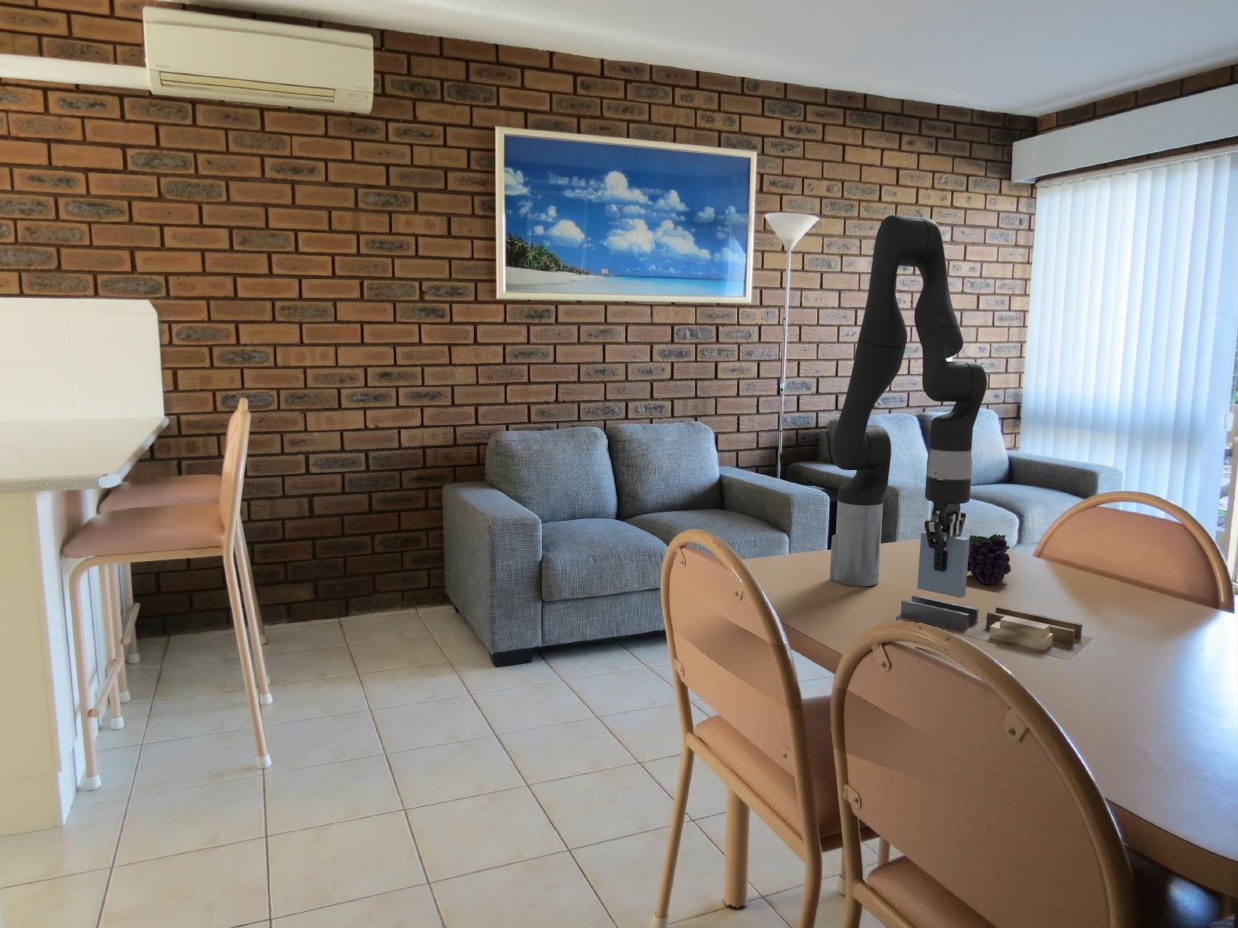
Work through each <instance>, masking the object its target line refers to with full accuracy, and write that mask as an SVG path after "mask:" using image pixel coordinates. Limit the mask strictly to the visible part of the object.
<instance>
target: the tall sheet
mask: <svg viewBox="0 0 1238 928" xmlns="http://www.w3.org/2000/svg"><path fill="white" fill-rule="evenodd" d="M969 541H970V537H963V536H961V537H959V536H952V538H950V539H949V549H948V557H947V570H946V571H944V572H942V571H936V570H934V552H935V550H934V549H933V548H929V545H928V540H927V535H926V530H924V531H921V533H920V542H919V543H920V544H919V545H920V546H919V558H918V570H917V571H918V574H917V585H916V586H917V588H916V589H917V590H922V591H928V592H931V593H935V594H941V595H945V596H946V595H947V596H950V597H954V598H959V599H962V598H964V597H965V596H966V591H967V589H966V588H967V576H968V571H967V566H968V555H969V554H968V553H969Z"/></svg>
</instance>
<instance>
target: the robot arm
mask: <svg viewBox="0 0 1238 928" xmlns="http://www.w3.org/2000/svg"><path fill="white" fill-rule="evenodd" d="M874 241H875V242H874V247H873V253H872V261H871V269H870V270H871V271H870V276H869V286H868V293H867V298H866V304H865V307H864V313H863V318H862V321H861V327H860V330H859V334H858V335H859V336H858V338H857V339H858V340H857V342H856V343H857V344H856V346H855V347H856V348H855V353H854V360H853V364H852V370H851V375H850V378H849V382H848V387H847V391H846V395H845V397H844V398H845V399H844V402H843V405H842V409H841V411H840V415H839V418H838V421H837V424H836V426H835V429H834V430H835V431H834V433H833V437H832V444H831V455H832V460H833V462H834V464H835V465H836V467H837V468H838V469H841V470H843V471H856V472H855V474H854V476H853V477H852V478H851V479H850V480H849V481H847V482H846V483H843V484H842V485H841V486H840V487H839V488H838V490H837V506H836V507H837V509H836V525H835V526H836V528H835V533H834V534H833V535H832V536H831V543H830V544H831V545H830V547H831V549H830V566H829V567H830V568H829V579H830V580H834V581H835V582H837V583H839V584H842V585H847V586H853V587H872V586H876V585H878V583H879V582H880V581H879V580H880V579H879V577H880V563H881V561H880V560H881V547H882V546H881V545H882V544H881V543H882V542H881V541H882V530H883V529H882V526H883V509H884V498H885V497H884V496H885V494H886V492H887V490H888V484H889V477H890V476H889V475H890V466H891V459H892V443H891V438H890V437H891V436H890V435H889V433H888V431H887V430H886V429H885V428H884V427H883V426H880V425H877V424H868V422H869V419H870V416H871V413H872V411H873V409H874V407H875V405H876V403H878V400H879V399H880V398H881V397H882V395H883V394H884V393H885V392H886V391H887V389H888V388H889V386H890V385H891V384H892V382H893V381H894V380H895V378H896V376H897V375H898V374H899V371H900V370H901V368H902V363H903V360H904V355H905V350H906V346H907V341H908V330H907V326H906V322H905V320H904V318H903V314H902V311H901V309H900V306H899V304H898V303H899V302H898V299H897V296H896V283H897V274H898V269H899V267H900V266H901V267H910V268H917V270H918V272H919V274H920V276H921V279H922V289H921V291H920V294H919V297H918V299H917V302H916V305H915V308H914V315H913V316H914V317H913V319H914V320H913V321H914V326H915V329H916V333H917V336H918V340H919V342H920V343H919V344H920V346H921V350H922V352H921V353H922V376H921V379H922V381H921V382H922V389H923V392H924V394H925V395H926V396H927V397H928V398H929V399H930V400H932V401H934V402H937V403H939V402H940V403H941V402H942V403H944V402H945V403H948V402H951V403H952V402H953V403H954V405H953V407H952V409H951V410H950V412H948V413H945V414H940V415H937V416H935V417H933V419H932V421H931V423H930V428H929V429H930V433H929V447H928V448H929V449H928V455H927V458H926V459H927V460H926V473H925V489H924V499H926V500H927V501H929V502H932V503H933V506H932V510H931V513H930V520H927V519H926V520H925V521H924V529H925V530H924V531H926V535H927V540H928V545H929V548H933V549H934V550H935V552H934V570H936V571H942V572H944V571H946V570H947V557H948V549H949V539H950V538H952V536H959V537H962V533H963V529H964V525H965V521H966V518H967V513H966V512H962V511H961V504H967V503H969V502H970V500H971V489H972V488H971V486H972V474H973V471H972V470H973V459H972V458H973V457H972V456H973V455H972V449H973V448H972V447H973V435H974V434H973V433H974V427H975V426H974V425H975V423H976V421H977V417H978V414H979V412H980V408H981V405H982V403H983V401H984V397H985V394H986V391H987V388H988V387H987V386H988V379H987V378H988V377H987V373H986V371H985V369H984V367H983V366H982V365H981V364H980V363H979V362H975V361H948V360H947V359H949V358H952V357H954V356H956V355H957V354H959V353H960V352H961V350H962V349H963V346H964V338H963V334H962V331H961V329H960V328H961V327H960V325H959V322H958V319H957V316H956V313H955V310H954V306H953V304H952V299H951V294H950V287H949V278H948V271H947V269H948V268H947V263H946V262H947V261H946V256H945V248H944V242H943V237H942V233H941V230H940V226H939V225H938V224H937V223H936V221H935V220H933V219H930V218H927V217H919V216H918V217H917V216H909V215H899V214H891V215H888V216H886V217H885V218H884V219H883V220H882V222H880V225H879V227H878V229H877V232H876V237H875V239H874Z"/></svg>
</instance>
